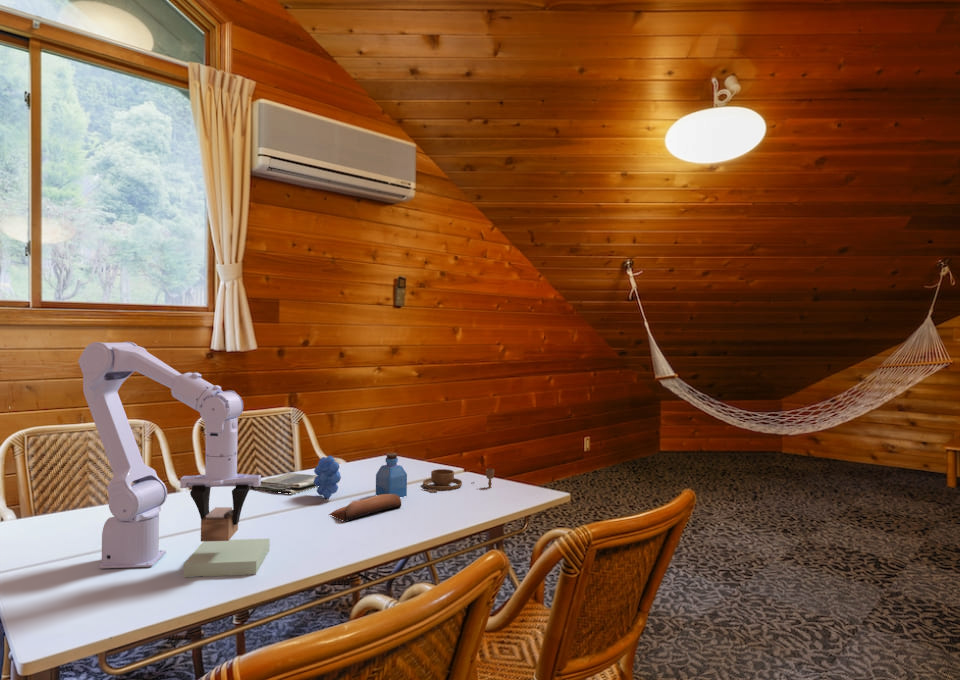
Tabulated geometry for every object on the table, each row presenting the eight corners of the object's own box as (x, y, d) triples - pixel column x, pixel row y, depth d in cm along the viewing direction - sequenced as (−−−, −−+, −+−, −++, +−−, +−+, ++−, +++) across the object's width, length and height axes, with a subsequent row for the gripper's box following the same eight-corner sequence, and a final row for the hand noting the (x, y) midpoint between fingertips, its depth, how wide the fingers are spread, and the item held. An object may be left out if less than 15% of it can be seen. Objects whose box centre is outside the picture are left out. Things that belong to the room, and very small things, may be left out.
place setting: (444, 479, 198) (444, 460, 197) (497, 488, 187) (497, 469, 186) (409, 490, 183) (409, 470, 183) (464, 501, 172) (464, 480, 172)
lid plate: (206, 522, 117) (206, 514, 117) (215, 514, 122) (215, 507, 122) (223, 522, 117) (223, 514, 117) (231, 514, 122) (232, 507, 122)
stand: (183, 577, 114) (183, 563, 114) (204, 552, 127) (204, 540, 127) (256, 574, 116) (256, 561, 116) (269, 550, 129) (269, 538, 129)
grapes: (351, 499, 170) (352, 456, 170) (330, 503, 165) (331, 459, 165) (328, 491, 178) (329, 450, 178) (307, 495, 173) (308, 453, 173)
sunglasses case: (381, 501, 168) (389, 482, 166) (395, 519, 164) (404, 500, 162) (325, 515, 154) (333, 495, 152) (339, 535, 150) (348, 514, 148)
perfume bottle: (406, 496, 174) (407, 454, 174) (389, 500, 169) (390, 457, 169) (392, 492, 178) (393, 451, 178) (375, 496, 174) (376, 453, 174)
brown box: (200, 541, 115) (201, 520, 115) (211, 529, 122) (212, 510, 122) (228, 540, 116) (228, 519, 116) (237, 529, 123) (238, 509, 123)
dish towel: (289, 477, 196) (289, 467, 196) (333, 484, 189) (334, 473, 189) (244, 490, 180) (244, 479, 180) (291, 498, 172) (291, 486, 172)
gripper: (174, 458, 115) (174, 531, 115) (255, 457, 117) (254, 528, 117) (187, 451, 122) (186, 519, 122) (263, 450, 124) (262, 517, 124)
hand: (220, 523), depth 120 cm, fingers closed on brown box, 5 cm apart
